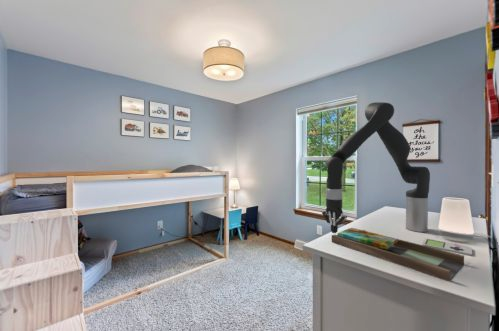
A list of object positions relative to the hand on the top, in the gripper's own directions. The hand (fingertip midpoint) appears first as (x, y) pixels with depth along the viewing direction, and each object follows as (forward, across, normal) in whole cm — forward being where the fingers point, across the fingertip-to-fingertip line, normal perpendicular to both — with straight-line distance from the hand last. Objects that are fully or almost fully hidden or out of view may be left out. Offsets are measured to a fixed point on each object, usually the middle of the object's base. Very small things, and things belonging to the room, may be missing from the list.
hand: (334, 232), depth 108 cm
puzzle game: (+1, -16, 0) cm, 16 cm away
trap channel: (+1, -25, 0) cm, 25 cm away
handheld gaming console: (+2, -37, -24) cm, 44 cm away
